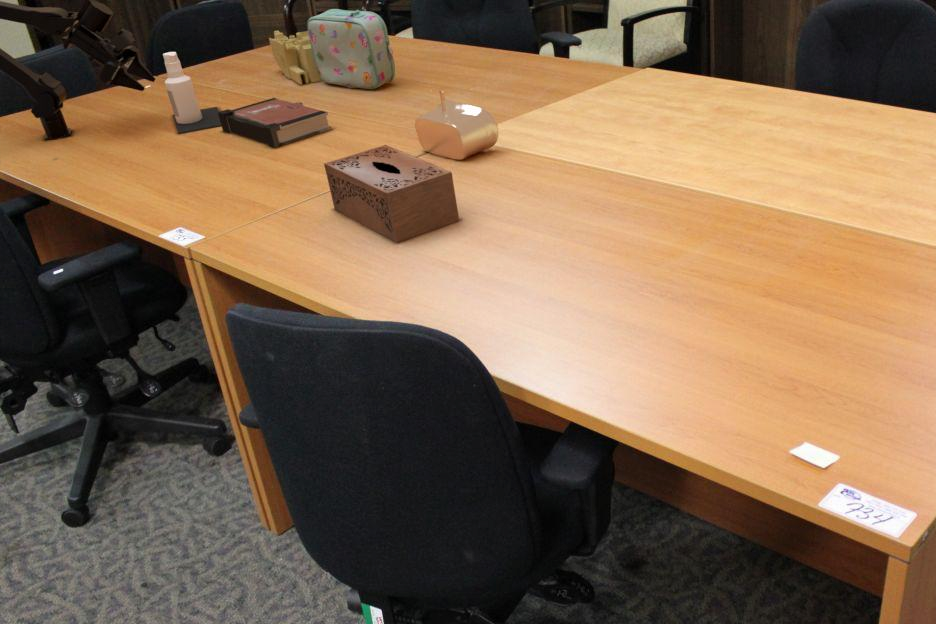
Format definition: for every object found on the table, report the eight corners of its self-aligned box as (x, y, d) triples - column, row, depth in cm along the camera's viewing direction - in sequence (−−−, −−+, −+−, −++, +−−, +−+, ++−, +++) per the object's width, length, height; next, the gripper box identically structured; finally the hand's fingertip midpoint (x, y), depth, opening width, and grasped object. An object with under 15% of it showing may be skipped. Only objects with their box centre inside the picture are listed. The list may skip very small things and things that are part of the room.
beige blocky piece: (353, 24, 293) (287, 29, 284) (361, 78, 299) (297, 85, 290) (328, 25, 312) (266, 31, 303) (337, 76, 318) (276, 83, 309)
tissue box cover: (334, 209, 203) (323, 163, 198) (394, 189, 211) (385, 144, 205) (396, 242, 186) (386, 193, 181) (459, 220, 194) (451, 172, 188)
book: (333, 128, 252) (329, 109, 249) (275, 148, 242) (269, 128, 239) (280, 113, 268) (275, 95, 265) (222, 131, 257) (217, 112, 255)
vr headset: (502, 150, 228) (494, 88, 220) (466, 164, 221) (457, 101, 213) (451, 137, 239) (442, 78, 231) (415, 151, 232) (405, 90, 224)
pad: (173, 115, 274) (172, 114, 273) (216, 107, 277) (216, 106, 277) (178, 134, 258) (178, 132, 258) (224, 125, 262) (224, 124, 262)
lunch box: (405, 83, 285) (391, 6, 273) (381, 93, 278) (366, 14, 266) (340, 76, 298) (324, 2, 286) (315, 85, 291) (298, 10, 279)
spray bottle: (193, 115, 271) (173, 49, 261) (207, 118, 267) (188, 51, 258) (171, 122, 266) (150, 55, 257) (186, 125, 263) (165, 57, 253)
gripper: (95, 29, 244) (153, 70, 250) (120, 14, 260) (174, 53, 266) (74, 64, 248) (132, 103, 254) (100, 47, 264) (154, 84, 270)
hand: (149, 85), depth 261 cm, fingers open, 9 cm apart
